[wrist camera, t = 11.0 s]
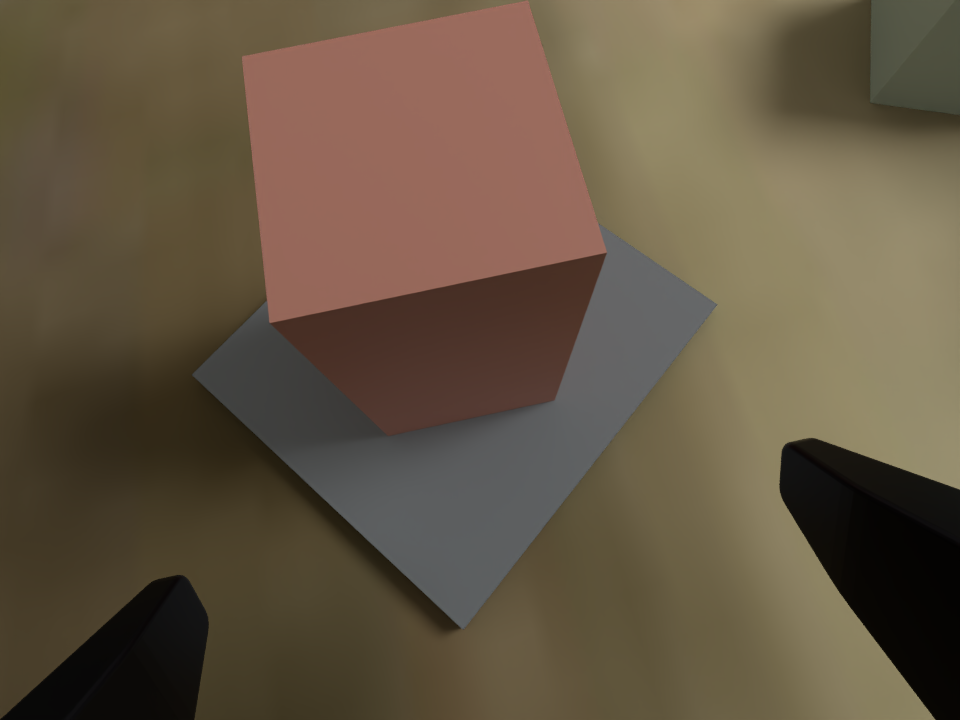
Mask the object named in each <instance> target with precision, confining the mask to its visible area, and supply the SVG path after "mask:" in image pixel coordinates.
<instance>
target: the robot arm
mask: <svg viewBox="0 0 960 720" xmlns="http://www.w3.org/2000/svg"><path fill="white" fill-rule="evenodd" d="M779 485H780V493H781V497H782V499H783V501H784V503H785V505H786V507H787V508H788V510H789V512H790V513H791V515H792V516H793V518H794V520H795V521H796V523H797V525H798V526H799V528H800V530H801V531H802V533H803V534H804V536H805V538H806V539H807V541H808V543H809V544H810V546H811V548H812V549H813V551H814V552H815V554H816V556H817V557H818V559H819V561H820V562H821V564H822V566H823V567H824V569H825V571H826V572H827V574H828V575H829V577H830V579H831V580H832V582H833V583H834V585H835V586H836V588H837V589H838V591H839V592H840V594H841V595H842V596H843V598H844V599H845V601H846V602H847V603H848V605H849V606H850V608H851V609H852V610H853V611H854V613H855V614H856V615H857V617H858V618H859V619H860V621H861V622H862V623H863V625H864V626H865V627H866V629H867V630H868V631H869V633H870V634H871V635H872V637H873V638H874V639H875V641H876V642H877V643H878V644H879V646H880V647H881V648H882V650H883V651H884V652H885V654H886V655H887V656H888V658H889V659H890V660H891V662H892V663H893V664H894V666H895V667H896V668H897V670H898V671H899V672H900V673H901V675H902V676H903V677H904V679H905V680H906V681H907V683H908V684H909V685H910V687H911V688H912V689H913V691H914V692H915V693H916V695H917V696H918V697H919V699H920V700H921V701H922V702H923V704H924V705H925V706H926V708H927V709H928V710H929V712H930V713H931V714H932V716H933V717H934V718H935V720H960V490H959V489H957V488H954V487H951V486H948V485H945V484H942V483H940V482H937V481H934V480H931V479H928V478H925V477H923V476H920V475H917V474H914V473H911V472H909V471H906V470H903V469H900V468H897V467H894V466H892V465H889V464H886V463H883V462H880V461H878V460H875V459H872V458H869V457H866V456H863V455H861V454H858V453H855V452H852V451H849V450H847V449H844V448H841V447H838V446H835V445H832V444H830V443H827V442H824V441H821V440H818V439H815V438H807V439H802V440H797V441H793V442H789V443H787V444H785V445H784V447H783V449H782V456H781V470H780V484H779ZM208 628H209V622H208V616H207V613H206V610H205V609H204V607H203V605H202V603H201V601H200V599H199V598H198V596H197V594H196V592H195V590H194V589H193V587H192V585H191V583H190V581H189V580H188V579H187V578H186V577H185V576H183V575H175V576H170V577H166V578H161V579H157V580H154V581H153V582H151V583H150V584H149V585H147V586H146V587H145V588H144V589H143V590H142V591H141V592H140V593H139V594H138V595H136V596H135V597H134V598H133V599H132V600H131V601H130V602H129V603H128V604H127V605H125V606H124V607H123V608H122V609H121V610H120V611H119V612H118V613H117V614H116V615H114V616H113V617H112V618H111V619H110V620H109V621H108V622H107V623H106V624H105V625H103V626H102V627H101V628H100V629H99V630H98V631H97V632H96V633H95V634H94V635H92V636H91V637H90V638H89V639H88V640H87V641H86V642H85V643H84V644H83V645H81V646H80V647H79V648H78V649H77V650H76V651H75V652H74V653H73V654H72V655H70V656H69V657H68V658H67V659H66V660H65V661H64V662H63V663H62V664H61V665H59V666H58V667H57V668H56V669H55V670H54V671H53V672H52V673H51V674H50V675H49V676H47V677H46V678H45V679H44V680H43V681H42V682H41V683H40V684H39V685H38V686H36V687H35V688H34V689H33V690H32V691H31V692H30V693H29V694H28V695H27V696H25V697H24V698H23V699H22V700H21V701H20V702H19V703H18V704H17V705H16V706H14V707H13V708H12V709H11V710H10V711H9V712H8V713H7V714H6V715H5V716H3V717H2V718H1V719H0V720H194V718H195V712H196V706H197V699H198V693H199V686H200V680H201V674H202V667H203V661H204V655H205V648H206V642H207V636H208Z"/></svg>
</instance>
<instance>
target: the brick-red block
mask: <svg viewBox="0 0 960 720" xmlns="http://www.w3.org/2000/svg"><path fill="white" fill-rule="evenodd" d="M242 62H243V71H244V81H245V91H246V100H247V110H248V120H249V129H250V139H251V149H252V158H253V168H254V177H255V187H256V197H257V206H258V216H259V226H260V235H261V245H262V255H263V264H264V274H265V283H266V293H267V303H268V312H269V322H270V324H271V325H272V326H273V327H274V328H275V329H276V330H277V331H278V332H279V333H281V334H282V335H283V336H284V337H285V338H286V339H287V340H288V341H289V342H290V343H291V344H292V345H293V346H294V347H295V348H296V349H297V350H298V351H299V352H300V353H302V354H303V355H304V356H305V357H306V358H307V359H308V360H309V361H310V362H311V363H312V364H313V365H314V366H315V367H316V368H317V369H318V370H319V371H320V372H321V373H322V374H324V375H325V376H326V377H327V378H328V379H329V380H330V381H331V382H332V383H333V384H334V385H335V386H336V387H337V388H338V389H339V390H340V391H341V392H342V393H343V394H344V395H346V396H347V397H348V398H349V399H350V400H351V401H352V402H353V403H354V404H355V405H356V406H357V407H358V408H359V409H360V410H361V411H362V412H363V413H364V414H365V415H367V416H368V417H369V418H370V419H371V420H372V421H373V422H374V423H375V424H376V425H377V426H378V427H379V428H380V429H381V430H382V431H383V432H384V433H385V434H386V435H387V436H391V435H396V434H400V433H405V432H410V431H414V430H419V429H423V428H428V427H433V426H437V425H442V424H447V423H451V422H456V421H461V420H465V419H470V418H474V417H479V416H484V415H488V414H493V413H498V412H502V411H507V410H512V409H516V408H521V407H526V406H530V405H535V404H539V403H544V402H549V401H553V400H555V398H556V395H557V392H558V390H559V387H560V384H561V381H562V378H563V375H564V373H565V370H566V367H567V364H568V361H569V359H570V356H571V353H572V350H573V347H574V344H575V342H576V339H577V336H578V333H579V330H580V328H581V325H582V322H583V319H584V316H585V313H586V311H587V308H588V305H589V302H590V299H591V297H592V294H593V291H594V288H595V285H596V282H597V280H598V277H599V274H600V271H601V268H602V266H603V263H604V260H605V257H606V254H607V251H606V247H605V244H604V241H603V238H602V235H601V232H600V228H599V225H598V222H597V219H596V216H595V213H594V209H593V206H592V203H591V200H590V197H589V193H588V190H587V187H586V184H585V181H584V178H583V174H582V171H581V168H580V165H579V162H578V158H577V155H576V152H575V149H574V146H573V143H572V139H571V136H570V133H569V130H568V127H567V123H566V120H565V117H564V114H563V111H562V108H561V104H560V101H559V98H558V95H557V92H556V89H555V85H554V82H553V79H552V76H551V73H550V69H549V66H548V63H547V60H546V57H545V54H544V50H543V47H542V44H541V41H540V38H539V34H538V31H537V28H536V25H535V22H534V19H533V15H532V12H531V9H530V6H529V3H528V1H524V2H518V3H513V4H508V5H503V6H498V7H493V8H488V9H483V10H478V11H472V12H467V13H462V14H457V15H452V16H447V17H442V18H437V19H432V20H426V21H421V22H416V23H411V24H406V25H401V26H396V27H391V28H385V29H380V30H375V31H370V32H365V33H360V34H355V35H350V36H345V37H339V38H334V39H329V40H324V41H319V42H314V43H309V44H304V45H299V46H293V47H288V48H283V49H278V50H273V51H268V52H263V53H258V54H253V55H247V56H242Z"/></svg>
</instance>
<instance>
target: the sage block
mask: <svg viewBox="0 0 960 720" xmlns="http://www.w3.org/2000/svg"><path fill="white" fill-rule="evenodd" d="M870 103H875V104H882V105H889V106H897V107H904V108H912V109H919V110H926V111H934V112H941V113H949V114H956V115H960V0H871V68H870Z"/></svg>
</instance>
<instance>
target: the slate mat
mask: <svg viewBox="0 0 960 720" xmlns="http://www.w3.org/2000/svg"><path fill="white" fill-rule="evenodd" d="M598 225H599V228H600V232H601V235H602V238H603V241H604V244H605V247H606V251H607V254H606V257H605V260H604V263H603V266H602V268H601V271H600V274H599V277H598V280H597V282H596V285H595V288H594V291H593V294H592V297H591V299H590V302H589V305H588V308H587V311H586V313H585V316H584V319H583V322H582V325H581V328H580V330H579V333H578V336H577V339H576V342H575V344H574V347H573V350H572V353H571V356H570V359H569V361H568V364H567V367H566V370H565V373H564V375H563V378H562V381H561V384H560V387H559V390H558V392H557V395H556V398H555V400H553V401H549V402H544V403H539V404H535V405H530V406H526V407H521V408H516V409H512V410H507V411H502V412H498V413H493V414H488V415H484V416H479V417H474V418H470V419H465V420H461V421H456V422H451V423H447V424H442V425H437V426H433V427H428V428H423V429H419V430H414V431H410V432H405V433H400V434H396V435H391V436H387V435H386V434H385V433H384V432H383V431H382V430H381V429H380V428H379V427H378V426H377V425H376V424H375V423H374V422H373V421H372V420H371V419H370V418H369V417H368V416H367V415H365V414H364V413H363V412H362V411H361V410H360V409H359V408H358V407H357V406H356V405H355V404H354V403H353V402H352V401H351V400H350V399H349V398H348V397H347V396H346V395H344V394H343V393H342V392H341V391H340V390H339V389H338V388H337V387H336V386H335V385H334V384H333V383H332V382H331V381H330V380H329V379H328V378H327V377H326V376H325V375H324V374H322V373H321V372H320V371H319V370H318V369H317V368H316V367H315V366H314V365H313V364H312V363H311V362H310V361H309V360H308V359H307V358H306V357H305V356H304V355H303V354H302V353H300V352H299V351H298V350H297V349H296V348H295V347H294V346H293V345H292V344H291V343H290V342H289V341H288V340H287V339H286V338H285V337H284V336H283V335H282V334H281V333H279V332H278V331H277V330H276V329H275V328H274V327H273V326H272V325H271V324H270V322H269V312H268V303H267V301H266V302H265V303H264V304H263V305H262V306H261V307H260V308H259V309H258V310H257V311H256V312H255V313H254V314H253V315H252V316H251V317H250V318H249V319H248V320H247V321H246V322H245V323H244V324H243V325H242V326H241V327H240V328H239V329H238V330H237V331H236V332H235V333H233V334H232V335H231V336H230V337H229V338H228V339H227V340H226V341H225V342H224V343H223V344H222V345H221V346H220V347H219V348H218V349H217V350H216V351H215V352H214V353H213V354H212V355H211V356H210V357H209V358H208V359H207V360H206V361H205V362H204V363H203V364H202V365H201V366H200V367H199V368H198V369H197V370H196V371H195V372H194V373H193V374H192V376H194V377H195V378H196V379H197V380H198V381H199V382H200V383H201V384H202V385H203V386H204V387H205V388H206V389H207V390H208V391H210V392H211V393H212V394H213V395H214V396H215V397H216V398H217V399H218V400H219V401H220V402H221V403H222V404H223V405H224V406H225V407H227V408H228V409H229V410H230V411H231V412H232V413H233V414H234V415H235V416H236V417H237V418H238V419H239V420H240V421H241V422H243V423H244V424H245V425H246V426H247V427H248V428H249V429H250V430H251V431H252V432H253V433H254V434H255V435H256V436H257V437H258V438H260V439H261V440H262V441H263V442H264V443H265V444H266V445H267V446H268V447H269V448H270V449H271V450H272V451H273V452H274V453H275V454H277V455H278V456H279V457H280V458H281V459H282V460H283V461H284V462H285V463H286V464H287V465H288V466H289V467H290V468H291V469H293V470H294V471H295V472H296V473H297V474H298V475H299V476H300V477H301V478H302V479H303V480H304V481H305V482H306V483H307V484H308V485H310V486H311V487H312V488H313V489H314V490H315V491H316V492H317V493H318V494H319V495H320V496H321V497H322V498H323V499H324V500H325V501H327V502H328V503H329V504H330V505H331V506H332V507H333V508H334V509H335V510H336V511H337V512H338V513H339V514H340V515H341V516H343V517H344V518H345V519H346V520H347V521H348V522H349V523H350V524H351V525H352V526H353V527H354V528H355V529H356V530H357V531H358V532H360V533H361V534H362V535H363V536H364V537H365V538H366V539H367V540H368V541H369V542H370V543H371V544H372V545H373V546H374V547H376V548H377V549H378V550H379V551H380V552H381V553H382V554H383V555H384V556H385V557H386V558H387V559H388V560H389V561H390V562H391V563H393V564H394V565H395V566H396V567H397V568H398V569H399V570H400V571H401V572H402V573H403V574H404V575H405V576H406V577H407V578H408V579H410V580H411V581H412V582H413V583H414V584H415V585H416V586H417V587H418V588H419V589H420V590H421V591H422V592H423V593H424V594H426V595H427V596H428V597H429V598H430V599H431V600H432V601H433V602H434V603H435V604H436V605H437V606H438V607H439V608H440V609H441V610H443V611H444V612H445V613H446V614H447V615H448V616H449V617H450V618H451V619H452V620H453V621H454V622H455V623H456V624H457V625H459V626H460V627H461V628H462V629H463V630H464V628H465V627H466V626H467V624H468V623H469V622H470V621H471V619H472V618H473V617H474V615H475V614H476V613H477V612H478V610H479V609H480V608H481V607H482V605H483V604H484V603H485V601H486V600H487V599H488V598H489V596H490V595H491V594H492V592H493V591H494V590H495V589H496V587H497V586H498V585H499V584H500V582H501V581H502V580H503V578H504V577H505V576H506V575H507V573H508V572H509V571H510V569H511V568H512V567H513V566H514V564H515V563H516V562H517V560H518V559H519V558H520V557H521V555H522V554H523V553H524V552H525V550H526V549H527V548H528V546H529V545H530V544H531V543H532V541H533V540H534V539H535V537H536V536H537V535H538V534H539V532H540V531H541V530H542V528H543V527H544V526H545V525H546V523H547V522H548V521H549V520H550V518H551V517H552V516H553V514H554V513H555V512H556V511H557V509H558V508H559V507H560V505H561V504H562V503H563V502H564V500H565V499H566V498H567V497H568V495H569V494H570V493H571V491H572V490H573V489H574V488H575V486H576V485H577V484H578V482H579V481H580V480H581V479H582V477H583V476H584V475H585V473H586V472H587V471H588V470H589V468H590V467H591V466H592V465H593V463H594V462H595V461H596V459H597V458H598V457H599V456H600V454H601V453H602V452H603V450H604V449H605V448H606V447H607V445H608V444H609V443H610V441H611V440H612V439H613V438H614V436H615V435H616V434H617V433H618V431H619V430H620V429H621V427H622V426H623V425H624V424H625V422H626V421H627V420H628V418H629V417H630V416H631V415H632V413H633V412H634V411H635V410H636V408H637V407H638V406H639V404H640V403H641V402H642V401H643V399H644V398H645V397H646V395H647V394H648V393H649V392H650V390H651V389H652V388H653V386H654V385H655V384H656V383H657V381H658V380H659V379H660V378H661V376H662V375H663V374H664V372H665V371H666V370H667V369H668V367H669V366H670V365H671V363H672V362H673V361H674V360H675V358H676V357H677V356H678V354H679V353H680V352H681V351H682V349H683V348H684V347H685V346H686V344H687V343H688V342H689V340H690V339H691V338H692V337H693V335H694V334H695V333H696V331H697V330H698V329H699V328H700V326H701V325H702V324H703V323H704V321H705V320H706V319H707V317H708V316H709V315H710V314H711V312H712V311H713V310H714V308H715V307H716V306H717V304H716V303H714V302H713V301H711V300H710V299H708V298H707V297H706V296H704V295H703V294H701V293H700V292H698V291H697V290H695V289H694V288H692V287H691V286H689V285H688V284H686V283H685V282H684V281H682V280H681V279H679V278H678V277H676V276H675V275H673V274H672V273H670V272H669V271H667V270H666V269H664V268H663V267H662V266H660V265H659V264H657V263H656V262H654V261H653V260H651V259H650V258H648V257H647V256H645V255H644V254H643V253H641V252H640V251H638V250H637V249H635V248H634V247H632V246H631V245H629V244H628V243H626V242H625V241H623V240H622V239H621V238H619V237H618V236H616V235H615V234H613V233H612V232H610V231H609V230H607V229H606V228H604V227H603V226H601V225H600V224H599V223H598Z"/></svg>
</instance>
